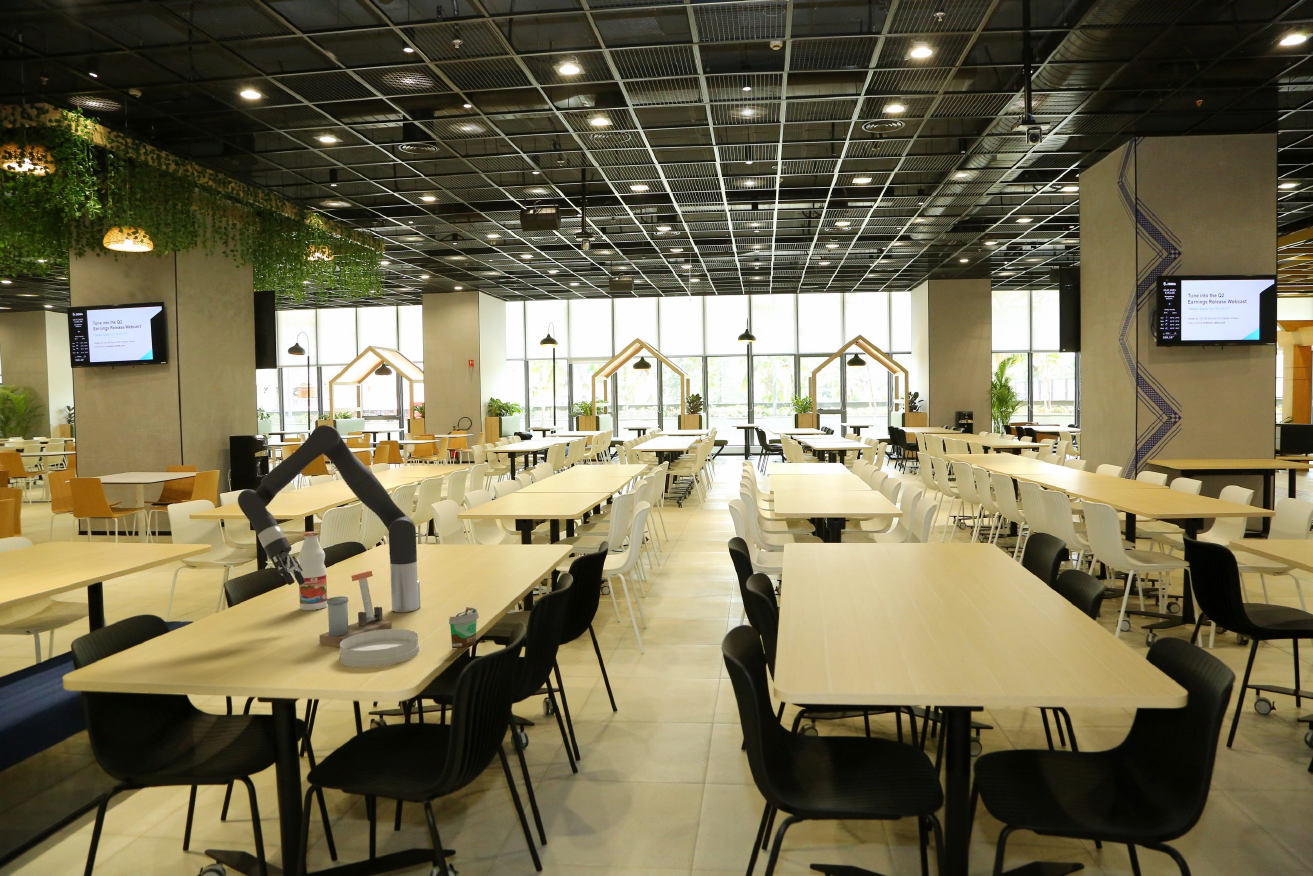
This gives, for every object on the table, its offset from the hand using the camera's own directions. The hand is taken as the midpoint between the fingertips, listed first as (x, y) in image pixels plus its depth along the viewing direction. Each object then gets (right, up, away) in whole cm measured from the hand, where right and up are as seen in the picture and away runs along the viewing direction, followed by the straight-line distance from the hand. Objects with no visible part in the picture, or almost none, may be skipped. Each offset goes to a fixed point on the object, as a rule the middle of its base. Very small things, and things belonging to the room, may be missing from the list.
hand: (297, 583), depth 265 cm
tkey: (+27, -10, -7) cm, 30 cm away
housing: (+24, -15, -12) cm, 31 cm away
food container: (+63, -15, -23) cm, 68 cm away
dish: (+38, -16, -31) cm, 52 cm away
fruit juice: (-7, -14, +29) cm, 33 cm away
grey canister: (+21, -12, -19) cm, 31 cm away
